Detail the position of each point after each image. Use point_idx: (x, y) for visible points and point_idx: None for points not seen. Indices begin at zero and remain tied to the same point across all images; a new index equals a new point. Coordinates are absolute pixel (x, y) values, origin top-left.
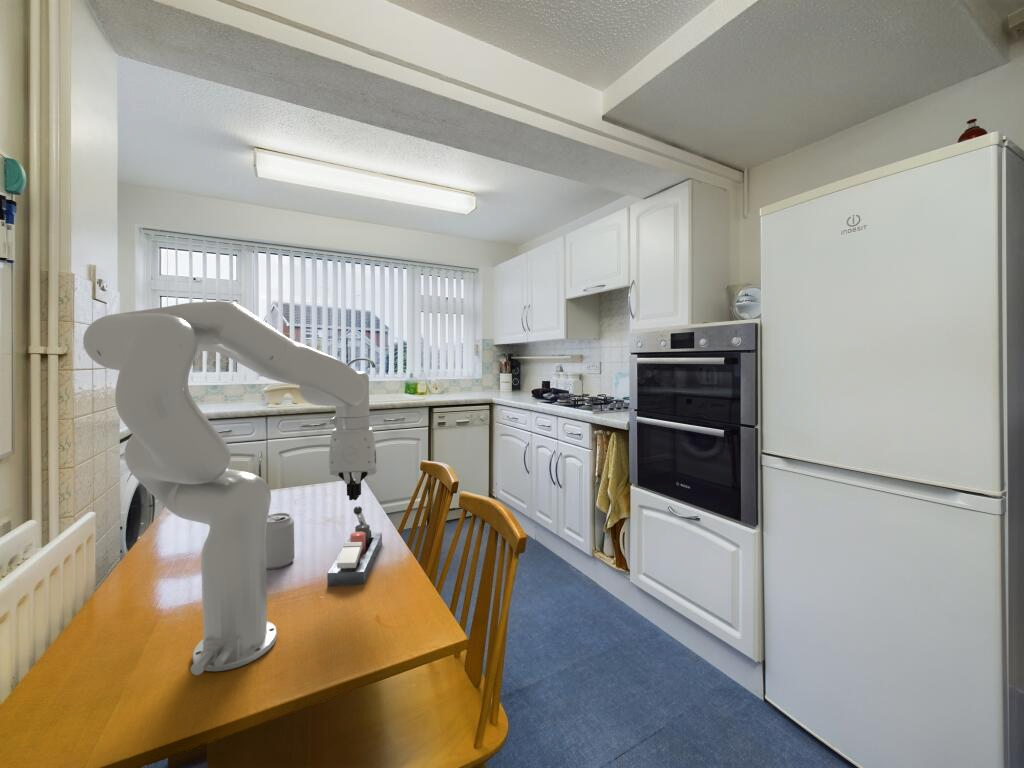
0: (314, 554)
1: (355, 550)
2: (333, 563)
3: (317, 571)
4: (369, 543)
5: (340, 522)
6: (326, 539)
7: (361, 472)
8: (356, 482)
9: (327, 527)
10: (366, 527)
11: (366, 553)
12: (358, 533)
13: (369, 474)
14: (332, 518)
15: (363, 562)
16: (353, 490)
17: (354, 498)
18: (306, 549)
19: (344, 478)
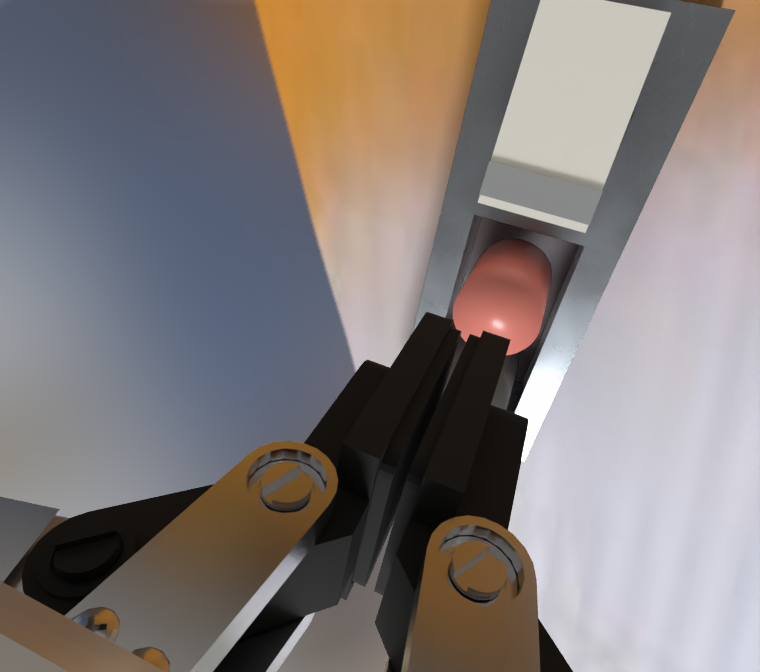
0: (719, 409)
1: (527, 125)
2: (668, 150)
3: (741, 222)
4: None
5: (559, 617)
6: (637, 518)
7: (78, 609)
8: (322, 480)
9: (616, 607)
10: (444, 389)
11: (471, 220)
12: (491, 329)
13: (21, 518)
14: (586, 659)
15: (493, 108)
16: (418, 393)
17: (439, 324)
18: (749, 473)
19: (530, 657)
